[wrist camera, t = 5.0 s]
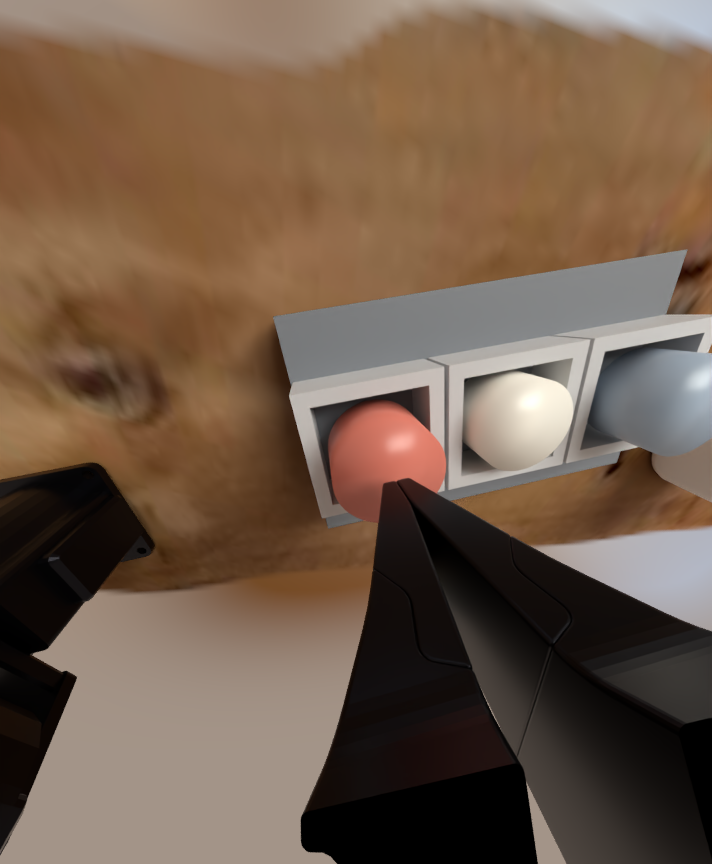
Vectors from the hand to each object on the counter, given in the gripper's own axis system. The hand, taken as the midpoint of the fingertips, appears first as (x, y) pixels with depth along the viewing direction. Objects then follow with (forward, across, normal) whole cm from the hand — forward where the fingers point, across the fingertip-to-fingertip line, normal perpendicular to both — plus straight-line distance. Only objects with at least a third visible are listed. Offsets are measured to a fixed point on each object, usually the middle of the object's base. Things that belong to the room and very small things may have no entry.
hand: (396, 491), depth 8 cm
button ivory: (+4, -6, 0) cm, 8 cm away
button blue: (+3, -12, 0) cm, 12 cm away
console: (+7, -6, 0) cm, 9 cm away
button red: (+3, 0, 0) cm, 3 cm away
